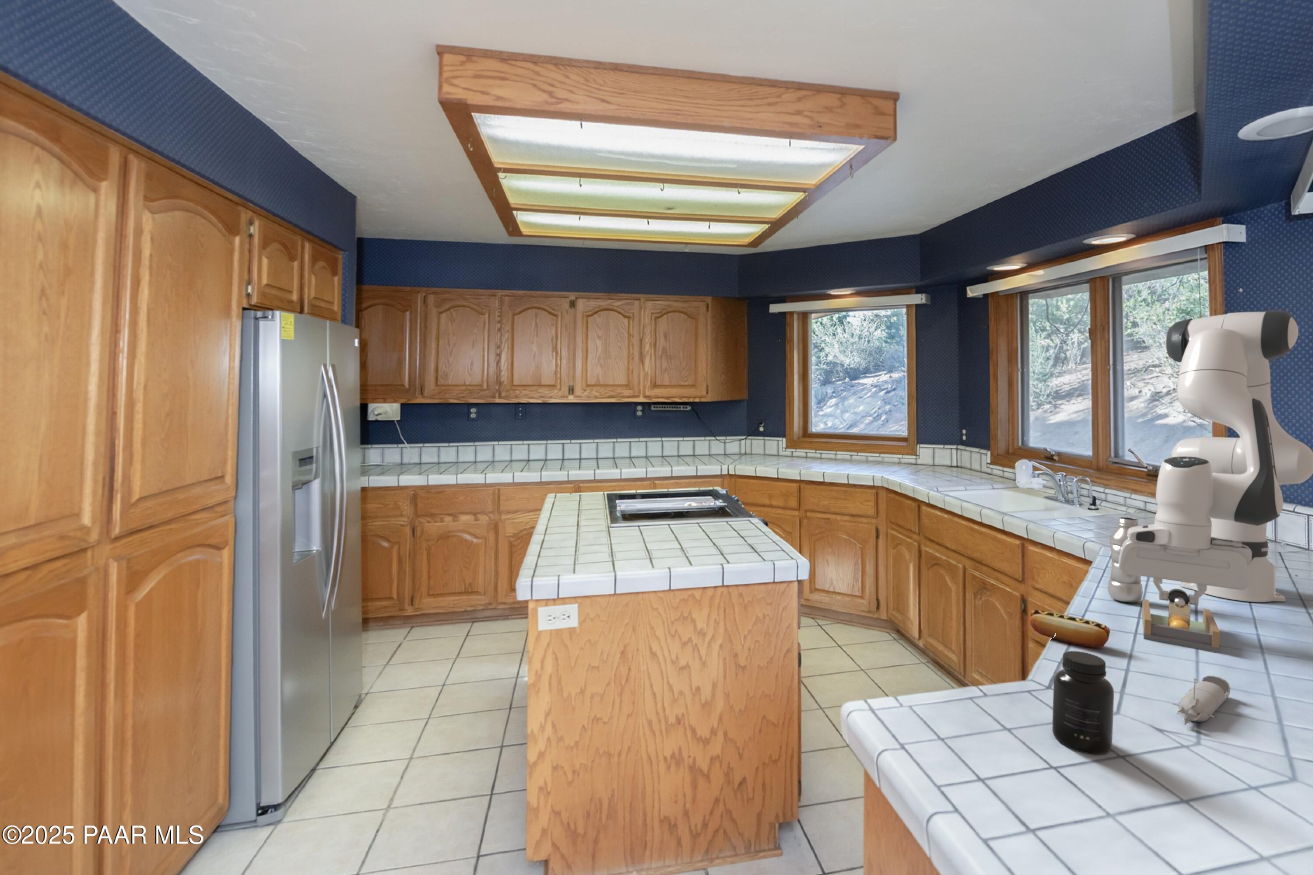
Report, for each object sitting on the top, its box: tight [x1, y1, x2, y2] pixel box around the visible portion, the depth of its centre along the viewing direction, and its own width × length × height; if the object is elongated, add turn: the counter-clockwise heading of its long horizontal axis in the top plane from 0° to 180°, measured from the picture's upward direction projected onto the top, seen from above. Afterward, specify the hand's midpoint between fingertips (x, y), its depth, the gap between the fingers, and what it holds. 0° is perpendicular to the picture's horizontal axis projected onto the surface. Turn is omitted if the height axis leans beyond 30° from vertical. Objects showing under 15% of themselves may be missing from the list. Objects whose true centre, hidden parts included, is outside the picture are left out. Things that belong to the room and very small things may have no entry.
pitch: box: [1141, 598, 1221, 654], centre depth 123 cm, size 16×11×4 cm
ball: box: [1170, 620, 1190, 630], centre depth 119 cm, size 3×3×3 cm
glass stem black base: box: [1167, 588, 1192, 628], centre depth 122 cm, size 6×3×7 cm, turn 142°
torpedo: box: [1172, 675, 1231, 726], centre depth 91 cm, size 18×5×7 cm, turn 126°
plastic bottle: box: [1107, 516, 1144, 603], centre depth 142 cm, size 6×7×20 cm
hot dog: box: [1029, 609, 1111, 649], centre depth 118 cm, size 5×13×5 cm, turn 43°
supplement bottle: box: [1051, 650, 1115, 755], centre depth 83 cm, size 7×7×12 cm
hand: (1178, 601), depth 123 cm, fingers closed on glass stem black base, 3 cm apart
